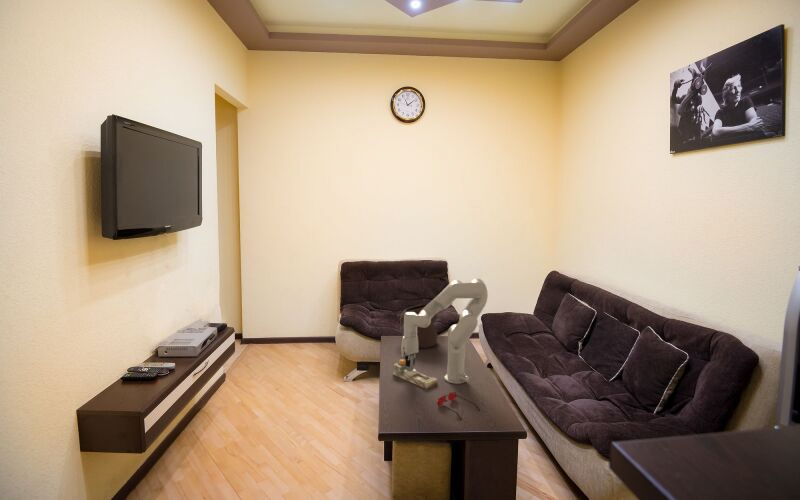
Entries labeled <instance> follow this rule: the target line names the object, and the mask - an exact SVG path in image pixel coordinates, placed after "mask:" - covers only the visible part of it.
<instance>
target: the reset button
mask: <svg viewBox="0 0 800 500" xmlns="http://www.w3.org/2000/svg"><path fill="white" fill-rule="evenodd" d="M398 363H399V365H401V366H404V365H405V363H406V359H399V362H398Z"/></svg>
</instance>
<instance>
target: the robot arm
mask: <svg viewBox="0 0 800 500" xmlns="http://www.w3.org/2000/svg"><path fill="white" fill-rule="evenodd" d="M488 298H489V297H488V289H487V286H486V284H485V282H484V281H483V280H482V279H481V278H474V279H472V280H471V282H463V281H460V280H459V279H455V280H454V279H453V280H452V281H451V282H449V284H447V286H446V287H445V288H443V290H442V291H441V292H440V293H439V294H438V295H437V296H435V297H434V298H433V299H432V300H431V301H430V302H429V303H426V304H427V305H426V306H425V307H424V308H423V309H422V310H421V311H420V313H419V314H418V315H417V314H416V313H414V312H407V313H405V314H404V324H403V336H402V339H401V346H400V347H401V348H400V353H401V357H402V358H404V360H406V363H405V365H406V366H408V367H410V360H409V359H410V354H412V355H414V360H413V366H415V363H416V361H415V360H416V356H417V354H418V353H419V352H420V351H419V348H418V336H417V332H418V331H417V327H422V328H425V327H428V326H429V325H430V323H431V318H432V317H433V316H434V315H435V314H436V313H439V312H441V311H442V310H445V309H447V308H448V307H449V306H451V304H453V302H454V301H455V300H456V299H470V300H469V301H468V302H467V305H466V306H465V307H464V309H463V310H462V311H461V312H460V314H459V319H458V320H459V321H458V322H457V323H455V324H452V325H450V327H449V328H448V330H447V366H446V367H447V368H446V369H447V371H446V372H447V373H446V374H445V375H444V377H443V378H444V381H446V382H447V383H450V384H455V385H458V384H464V383H468V382H469V381H470V380H469V379H470V377H469V376H467V372H465V359H466V358H465V357H466V356H465V353H466V350H465V349H466V343H467V342H468V341H469V339H470V337H471V336H472V335H473V333H474V332H475V331H476V328H477V327H478V324H479V323H478V317H479V316H480V314H481V313H482V312H483V310H484V308H485V307H486V304H487V302H488ZM407 356H408V357H407Z"/></svg>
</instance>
